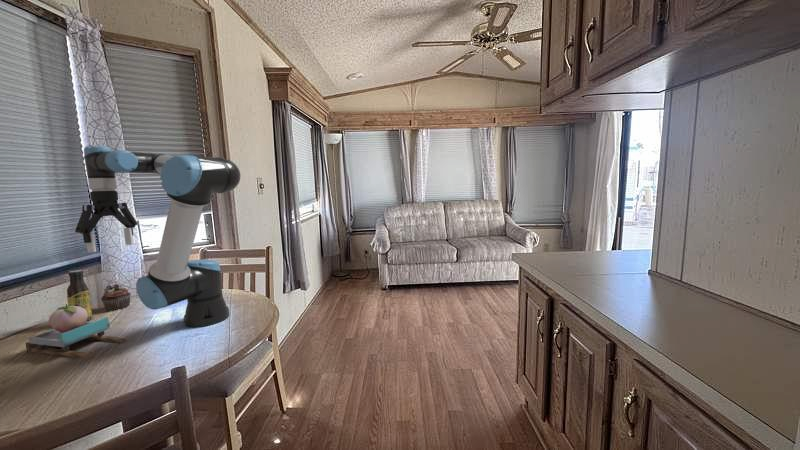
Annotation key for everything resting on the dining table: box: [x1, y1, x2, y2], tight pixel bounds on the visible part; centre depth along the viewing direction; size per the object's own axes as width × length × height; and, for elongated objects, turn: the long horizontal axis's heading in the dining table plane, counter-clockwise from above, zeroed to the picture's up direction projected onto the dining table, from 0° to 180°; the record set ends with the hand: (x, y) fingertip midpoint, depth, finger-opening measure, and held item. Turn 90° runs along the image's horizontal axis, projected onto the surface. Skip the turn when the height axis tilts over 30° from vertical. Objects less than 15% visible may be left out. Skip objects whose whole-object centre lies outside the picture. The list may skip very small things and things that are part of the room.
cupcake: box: [100, 283, 132, 311], centre depth 140 cm, size 10×10×10 cm
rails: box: [25, 334, 127, 359], centre depth 107 cm, size 24×12×3 cm, turn 78°
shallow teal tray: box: [28, 316, 111, 351], centre depth 107 cm, size 14×13×6 cm
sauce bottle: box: [66, 269, 93, 322], centre depth 126 cm, size 6×6×20 cm
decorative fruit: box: [48, 303, 88, 333], centre depth 106 cm, size 9×8×10 cm
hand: (111, 248), depth 121 cm, fingers open, 13 cm apart
